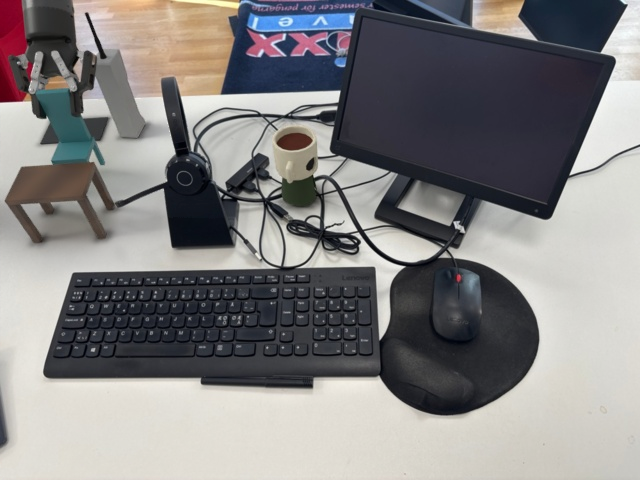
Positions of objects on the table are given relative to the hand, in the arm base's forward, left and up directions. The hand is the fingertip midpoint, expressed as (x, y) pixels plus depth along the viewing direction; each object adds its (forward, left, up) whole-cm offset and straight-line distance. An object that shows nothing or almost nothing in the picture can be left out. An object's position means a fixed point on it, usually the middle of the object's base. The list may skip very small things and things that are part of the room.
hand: (59, 117), depth 86 cm
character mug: (+39, -8, -14) cm, 42 cm away
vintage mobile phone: (+5, +14, -14) cm, 21 cm away
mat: (-7, +16, -14) cm, 22 cm away
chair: (0, -1, -12) cm, 12 cm away
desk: (0, -11, -14) cm, 18 cm away
